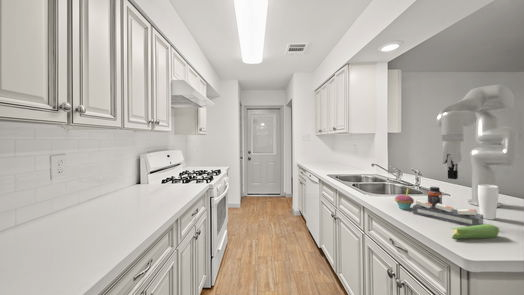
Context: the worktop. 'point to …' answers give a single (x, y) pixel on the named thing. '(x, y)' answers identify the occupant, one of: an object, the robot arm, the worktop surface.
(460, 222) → the rocker switch panel
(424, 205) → the rocker
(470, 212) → the block
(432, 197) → the supplement bottle
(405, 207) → the cupcake
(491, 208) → the drinking glass
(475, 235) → the edible corn
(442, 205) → the plate
